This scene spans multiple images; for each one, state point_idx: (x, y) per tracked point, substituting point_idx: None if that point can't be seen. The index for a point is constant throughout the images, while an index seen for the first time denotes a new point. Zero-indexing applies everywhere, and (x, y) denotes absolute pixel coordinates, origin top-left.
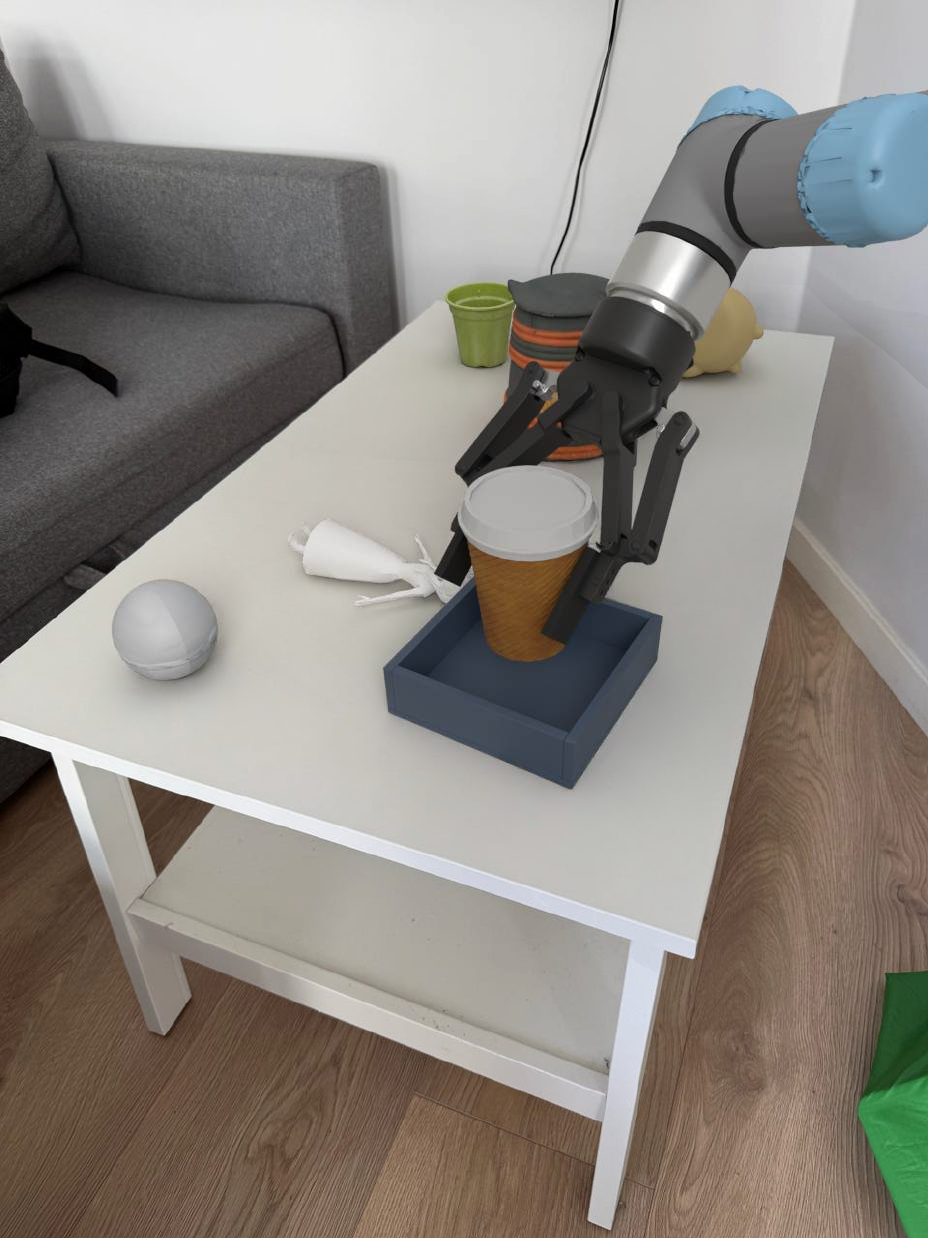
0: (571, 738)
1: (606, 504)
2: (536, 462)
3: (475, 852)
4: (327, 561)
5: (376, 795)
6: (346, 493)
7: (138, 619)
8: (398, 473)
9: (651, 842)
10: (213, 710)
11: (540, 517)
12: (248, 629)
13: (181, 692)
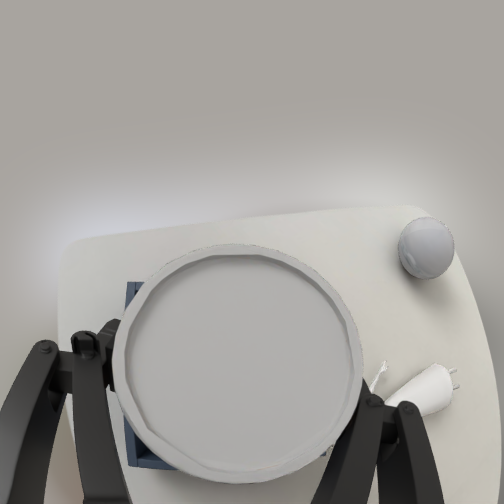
0: (131, 285)
1: (97, 407)
2: (316, 493)
3: (173, 232)
4: (425, 374)
5: (248, 239)
6: (458, 448)
7: (430, 218)
8: (445, 489)
9: (84, 284)
10: (371, 247)
11: (192, 322)
12: (412, 309)
13: (392, 249)
